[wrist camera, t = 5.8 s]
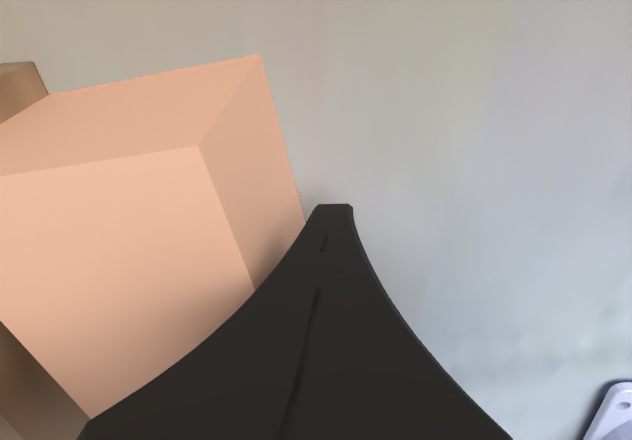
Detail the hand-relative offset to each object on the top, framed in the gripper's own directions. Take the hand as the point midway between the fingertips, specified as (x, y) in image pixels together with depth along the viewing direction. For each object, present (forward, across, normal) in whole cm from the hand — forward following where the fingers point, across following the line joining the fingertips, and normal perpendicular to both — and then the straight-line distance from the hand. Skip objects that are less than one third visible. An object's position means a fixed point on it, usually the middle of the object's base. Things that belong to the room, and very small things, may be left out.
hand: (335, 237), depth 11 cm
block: (+2, +4, 0) cm, 5 cm away
